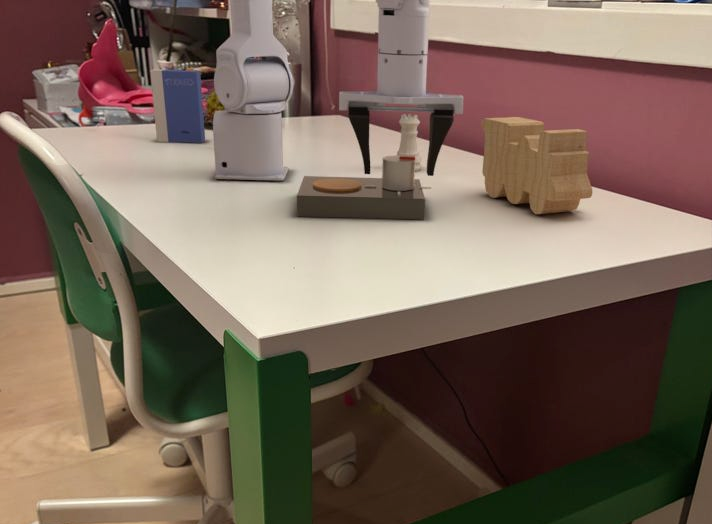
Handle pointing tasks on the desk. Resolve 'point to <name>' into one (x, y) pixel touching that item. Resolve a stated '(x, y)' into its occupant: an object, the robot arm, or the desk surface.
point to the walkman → (178, 105)
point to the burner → (337, 185)
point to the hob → (360, 200)
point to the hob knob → (398, 173)
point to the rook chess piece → (409, 138)
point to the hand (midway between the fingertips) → (398, 173)
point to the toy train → (535, 164)
